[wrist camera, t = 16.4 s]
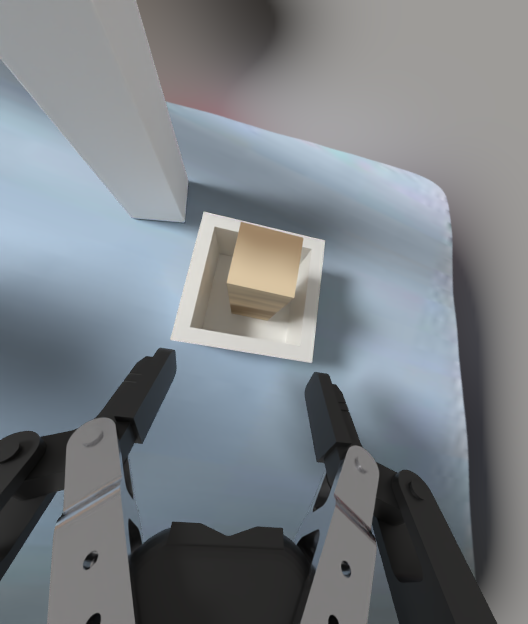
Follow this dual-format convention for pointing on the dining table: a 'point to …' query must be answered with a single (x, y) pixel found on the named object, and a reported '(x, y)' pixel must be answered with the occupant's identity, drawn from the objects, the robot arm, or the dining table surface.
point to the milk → (100, 95)
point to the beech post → (263, 271)
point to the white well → (216, 306)
